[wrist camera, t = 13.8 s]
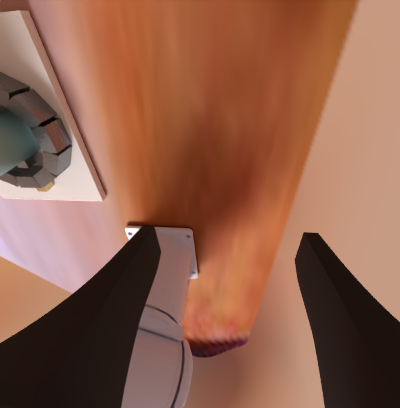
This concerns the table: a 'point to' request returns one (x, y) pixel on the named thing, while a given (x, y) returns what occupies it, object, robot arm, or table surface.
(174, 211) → the table surface
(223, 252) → the table surface
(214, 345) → the table surface
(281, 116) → the table surface
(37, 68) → the collar plate
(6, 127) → the teal peg
